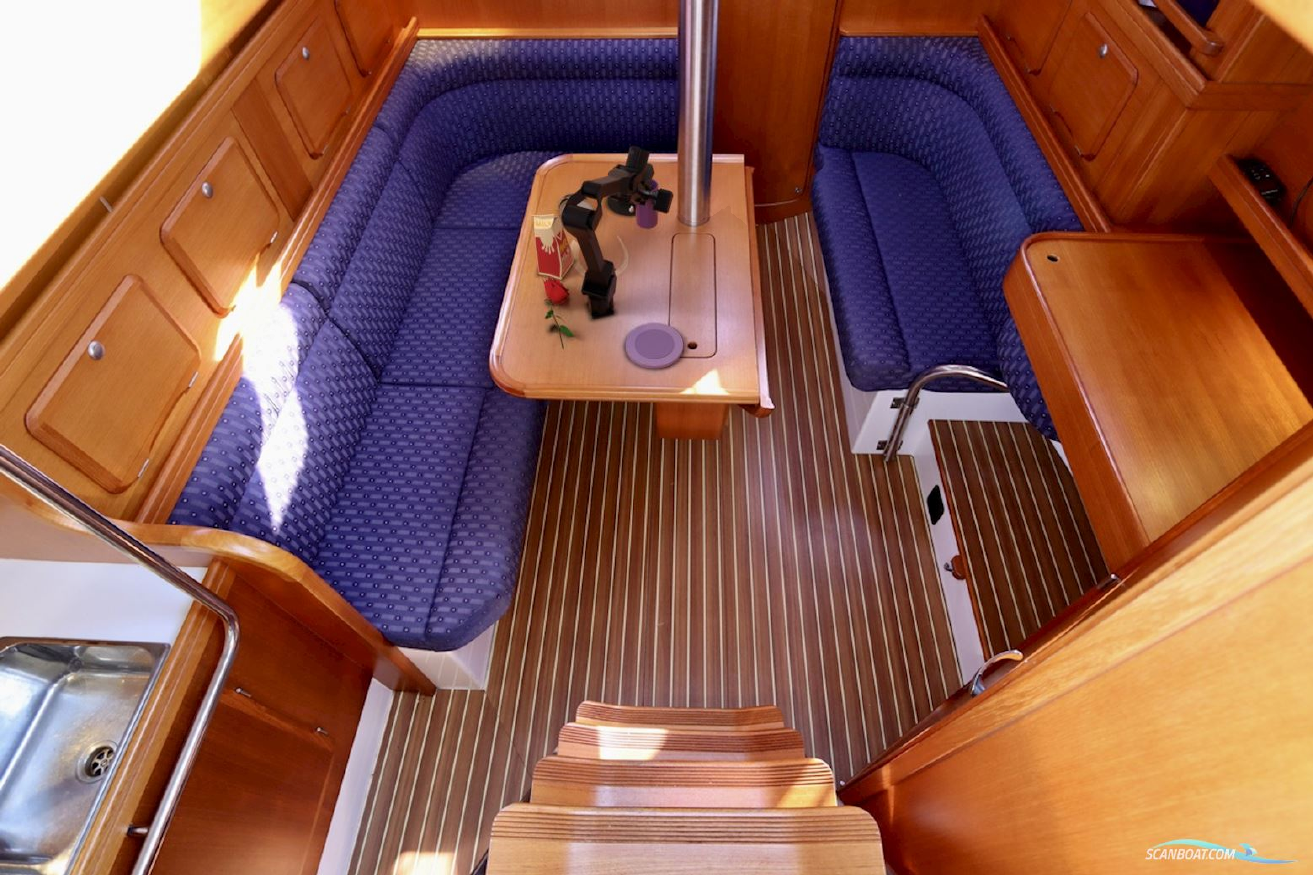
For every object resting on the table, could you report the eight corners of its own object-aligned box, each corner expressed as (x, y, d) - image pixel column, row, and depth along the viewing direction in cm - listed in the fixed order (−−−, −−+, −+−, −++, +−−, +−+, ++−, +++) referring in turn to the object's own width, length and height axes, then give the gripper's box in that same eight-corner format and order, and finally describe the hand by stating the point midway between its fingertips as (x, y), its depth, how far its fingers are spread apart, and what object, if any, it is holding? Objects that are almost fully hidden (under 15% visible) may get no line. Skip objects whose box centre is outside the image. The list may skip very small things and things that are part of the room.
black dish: (601, 210, 215) (600, 196, 210) (615, 184, 223) (615, 170, 218) (644, 219, 212) (644, 205, 208) (657, 192, 220) (657, 178, 216)
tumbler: (639, 230, 200) (638, 193, 190) (633, 217, 204) (632, 180, 193) (660, 226, 201) (660, 190, 191) (654, 213, 205) (654, 176, 194)
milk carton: (574, 261, 201) (567, 206, 184) (562, 280, 196) (553, 225, 180) (547, 254, 203) (537, 199, 186) (534, 273, 198) (524, 218, 181)
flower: (571, 328, 170) (553, 260, 188) (542, 346, 172) (527, 278, 190) (590, 347, 177) (571, 280, 195) (561, 364, 179) (546, 297, 197)
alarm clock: (564, 225, 206) (552, 191, 211) (565, 236, 210) (553, 202, 216) (598, 218, 208) (585, 184, 213) (598, 229, 212) (585, 195, 218)
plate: (636, 375, 176) (636, 371, 174) (618, 334, 184) (618, 330, 183) (691, 360, 179) (691, 356, 178) (671, 320, 187) (671, 316, 186)
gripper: (672, 168, 179) (684, 181, 194) (610, 152, 183) (628, 167, 198) (660, 208, 182) (674, 218, 197) (600, 192, 186) (618, 203, 201)
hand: (648, 201), depth 198 cm, fingers closed on tumbler, 7 cm apart
